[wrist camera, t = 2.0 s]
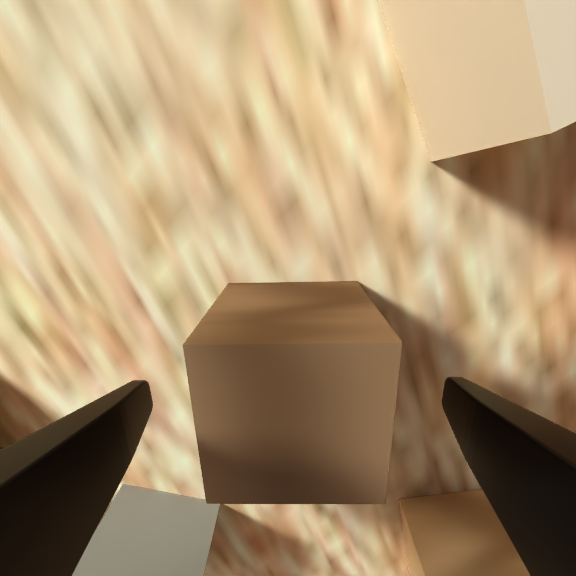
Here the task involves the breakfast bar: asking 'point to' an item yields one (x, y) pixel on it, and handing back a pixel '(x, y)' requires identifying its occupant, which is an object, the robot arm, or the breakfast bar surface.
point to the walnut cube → (294, 394)
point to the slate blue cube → (150, 536)
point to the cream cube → (485, 69)
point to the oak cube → (457, 537)
